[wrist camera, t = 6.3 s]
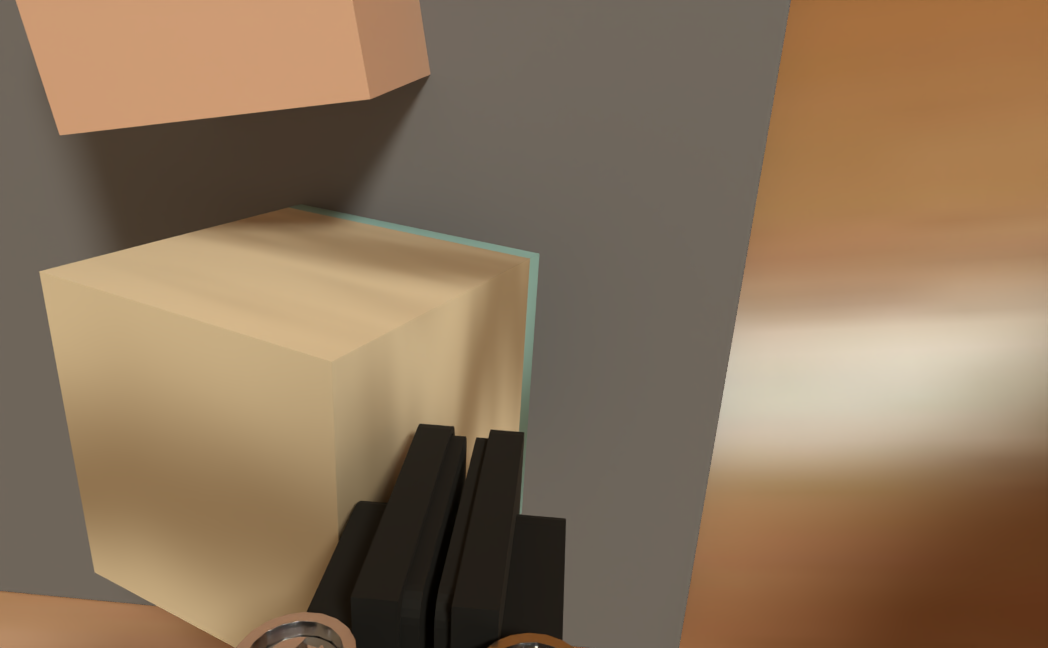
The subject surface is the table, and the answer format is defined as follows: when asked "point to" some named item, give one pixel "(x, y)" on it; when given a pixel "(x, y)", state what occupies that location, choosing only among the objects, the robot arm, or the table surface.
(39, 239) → the mat
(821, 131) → the table surface
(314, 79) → the terracotta block
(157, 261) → the maple block
